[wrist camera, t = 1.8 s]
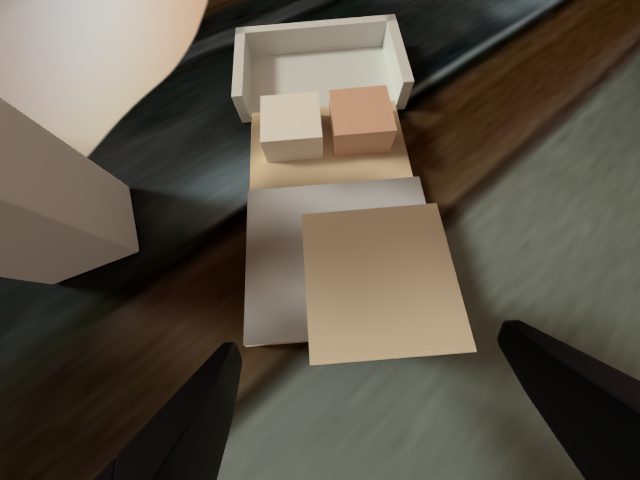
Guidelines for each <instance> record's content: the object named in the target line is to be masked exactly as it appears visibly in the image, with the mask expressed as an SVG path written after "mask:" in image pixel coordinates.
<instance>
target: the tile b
mask: <svg viewBox="0 0 640 480" xmlns="http://www.w3.org/2000/svg"><path fill="white" fill-rule="evenodd" d="M329 120H330V129H331V138H332V146H333V155H334V157H335V156H347V155H359V154H371V153H383V152H390V149H391V147H392V144H393V141H394V138H395V135H396V133H397V127H396V123H395V119H394V114H393V110H392V106H391V102H390V98H389V93H388V89H387V85H381V86H370V87H358V88H346V89H334V90H329Z"/></svg>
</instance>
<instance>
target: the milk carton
mask: <svg viewBox="0 0 640 480" xmlns="http://www.w3.org/2000/svg"><path fill="white" fill-rule="evenodd" d="M137 252H139V245H138V239H137V233H136V227H135V221H134V215H133V209H132V203H131V197H130V191H129V187H128V186H127V185H125V184H124V183H123V182H121V181H120V180H118V179H117V178H115V177H114V176H112V175H111V174H110V173H108V172H107V171H105V170H104V169H102V168H101V167H99V166H98V165H97V164H95V163H94V162H92V161H91V160H89V159H88V158H86V157H85V156H83V155H82V154H80V153H79V152H78V151H76V150H75V149H73V148H72V147H70V146H69V145H68V144H66V143H65V142H63V141H62V140H60V139H59V138H57V137H56V136H55V135H53V134H52V133H50V132H49V131H47V130H46V129H44V128H43V127H42V126H40V125H39V124H37V123H36V122H34V121H33V120H31V119H30V118H29V117H27V116H26V115H24V114H23V113H21V112H20V111H18V110H17V109H16V108H14V107H12V106H11V105H10V104H8V103H7V102H5V101H4V100H3V99H1V98H0V277H6V278H13V279H20V280H26V281H33V282H40V283H47V284H55V283H58V282H60V281H63V280H66V279H68V278H71V277H74V276H76V275H79V274H82V273H84V272H87V271H89V270H92V269H95V268H97V267H100V266H103V265H105V264H108V263H110V262H113V261H116V260H118V259H121V258H124V257H126V256H129V255H131V254H134V253H137Z"/></svg>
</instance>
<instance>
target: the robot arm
mask: <svg viewBox="0 0 640 480" xmlns="http://www.w3.org/2000/svg"><path fill="white" fill-rule="evenodd" d="M497 341H498V344H499V346H500V348H501V350H502V352H503V354H504V355H505V357H506V359H507V361H508V362H509V364H510V366H511V368H512V369H513V371H514V373H515V375H516V376H517V378H518V380H519V382H520V383H521V385H522V387H523V389H524V390H525V392H526V393H527V395H528V396H529V398H530V400H531V401H532V403H533V404H534V405H535V407H536V408H537V410H538V411H539V413H540V414H541V416H542V417H543V419H544V420H545V422H546V423H547V424H548V426H549V427H550V429H551V430H552V432H553V433H554V435H555V436H556V438H557V439H558V441H559V442H560V443H561V445H562V446H563V448H564V449H565V451H566V452H567V454H568V455H569V457H570V458H571V460H572V461H573V462H574V464H575V465H576V467H577V468H578V470H579V471H580V473H581V474H582V476H583V477H584V479H585V480H640V381H638V380H636V379H634V378H632V377H631V376H629V375H627V374H625V373H623V372H621V371H619V370H617V369H615V368H613V367H611V366H609V365H607V364H605V363H603V362H601V361H599V360H597V359H595V358H593V357H591V356H589V355H587V354H585V353H583V352H581V351H579V350H577V349H575V348H573V347H571V346H569V345H567V344H565V343H563V342H561V341H559V340H557V339H555V338H553V337H551V336H549V335H547V334H545V333H543V332H541V331H539V330H538V329H536V328H534V327H532V326H530V325H528V324H526V323H524V322H522V321H519V320H506V321H504V322H503V323H502V326H501V329H500V331H499V334H498V337H497ZM241 367H242V358H241V354H240V351H239V348H238V345H237V343H236V342H226V343H223V344H222V345H221V346H220V347H219V348H218V349H217V350H216V351H215V352H214V353H213V354H212V355H211V356H210V357H209V358H208V359H207V361H206V362H205V363H204V364H203V365H202V366H201V367H200V368H199V369H198V370H197V371H196V372H195V373H194V374H193V375H192V376H191V377H190V378H189V379H188V381H187V382H186V383H185V384H184V385H183V386H182V387H181V388H180V389H179V390H178V391H177V392H176V393H175V394H174V395H173V396H172V397H171V398H170V400H169V401H168V402H167V403H166V404H165V405H164V406H163V407H162V408H161V409H160V410H159V411H158V412H157V413H156V414H155V415H154V416H153V417H152V419H151V420H150V421H149V422H148V423H147V424H146V425H145V426H144V427H143V428H142V429H141V430H140V431H139V432H138V433H137V434H136V435H135V436H134V438H133V439H132V440H131V441H130V442H129V443H128V444H127V445H126V446H125V447H124V448H123V449H122V450H121V451H120V452H119V453H118V454H117V456H116V458H115V459H113V460H112V461H111V462H110V463H109V464H108V465H107V466H106V467H105V468H104V469H103V470H102V471H101V472H100V473H99V474H98V475H97V476H96V477H95V478H94V480H217V476H218V473H219V469H220V465H221V461H222V457H223V454H224V450H225V446H226V442H227V439H228V435H229V431H230V427H231V423H232V419H233V415H234V410H235V404H236V398H237V392H238V385H239V379H240V373H241Z"/></svg>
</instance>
